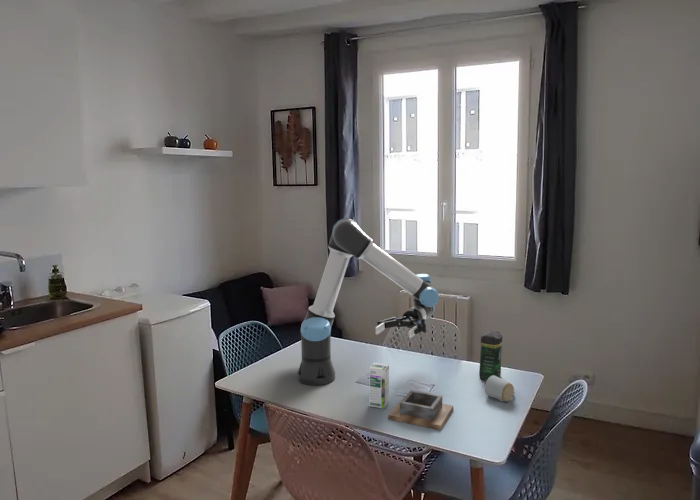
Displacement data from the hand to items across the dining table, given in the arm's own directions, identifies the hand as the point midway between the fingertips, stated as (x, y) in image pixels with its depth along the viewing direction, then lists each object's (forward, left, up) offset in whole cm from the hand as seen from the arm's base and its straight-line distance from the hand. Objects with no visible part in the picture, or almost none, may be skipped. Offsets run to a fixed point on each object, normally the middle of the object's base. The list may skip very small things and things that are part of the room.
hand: (392, 332), depth 198 cm
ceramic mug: (+38, +10, -23) cm, 46 cm away
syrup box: (0, -14, -23) cm, 27 cm away
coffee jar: (+31, +28, -23) cm, 48 cm away
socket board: (+16, -15, -22) cm, 31 cm away
